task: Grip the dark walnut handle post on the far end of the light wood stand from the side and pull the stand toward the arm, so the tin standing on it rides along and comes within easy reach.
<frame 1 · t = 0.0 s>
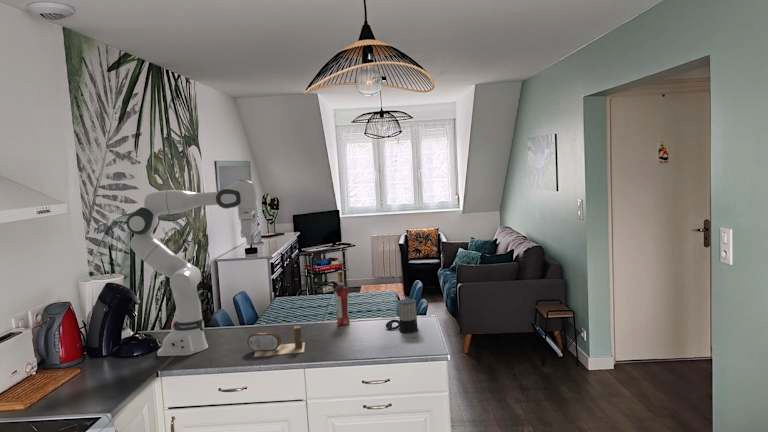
hand: (250, 243, 270), 48 cm above the countertop, tool pointing down, fingers open, 8 cm apart
tin: (264, 350, 261), resting on light wood stand
light wood stand: (279, 339, 261), point 5 cm above the countertop, slide at 0.1 cm, touching tin
liquor: (343, 324, 298), on the countertop
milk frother: (401, 330, 282), on the countertop
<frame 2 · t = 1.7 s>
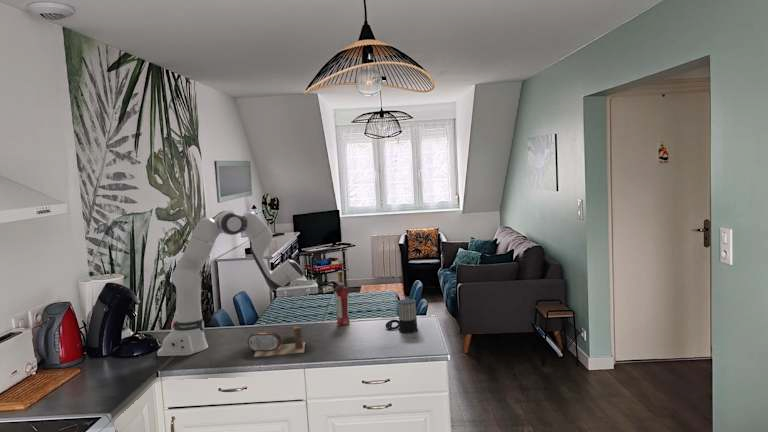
hand: (296, 293, 272), 23 cm above the countertop, tool horizontal, fingers open, 8 cm apart
nothing on the countertop moved.
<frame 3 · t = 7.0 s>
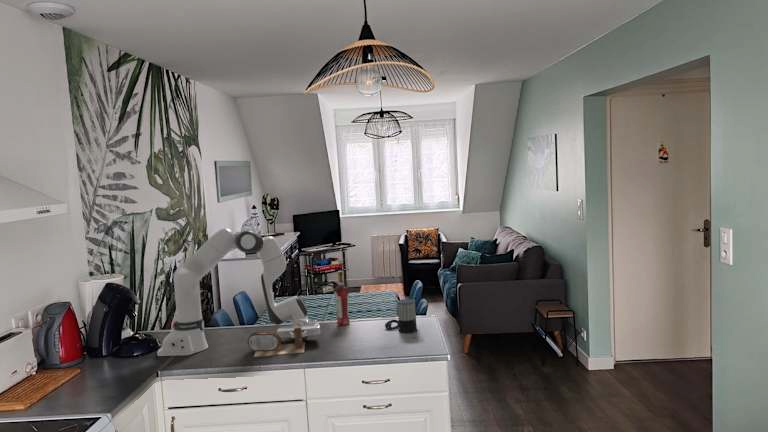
hand: (298, 336, 261), 6 cm above the countertop, tool horizontal, fingers closed on light wood stand, 3 cm apart
light wood stand: (279, 339, 261), point 5 cm above the countertop, slide at 0.0 cm, touching gripper, tin
everything else where it was.
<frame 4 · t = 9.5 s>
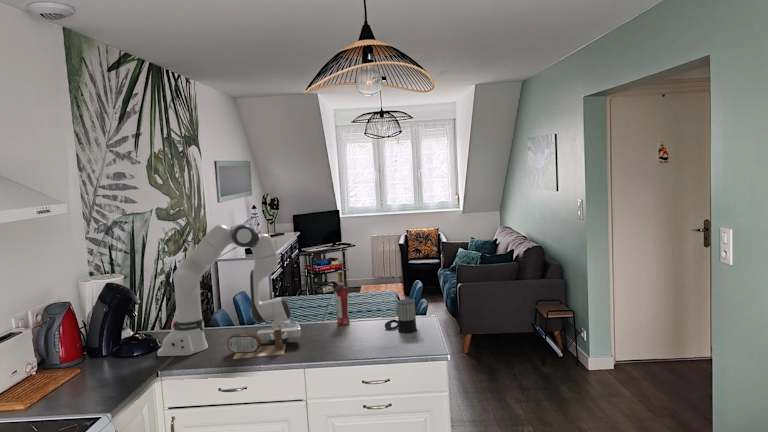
hand: (278, 337, 260), 6 cm above the countertop, tool horizontal, fingers closed on light wood stand, 3 cm apart
tin: (244, 352, 260), resting on light wood stand
light wood stand: (259, 341, 260), point 5 cm above the countertop, slide at 9.0 cm, touching gripper, tin
everything else where it was.
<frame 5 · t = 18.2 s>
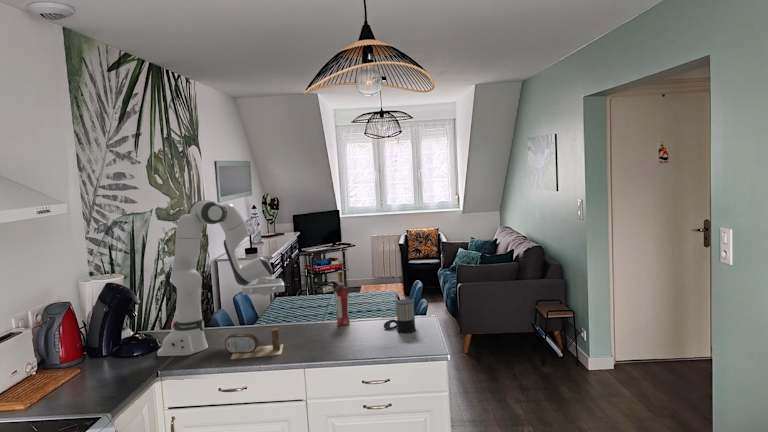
hand: (262, 291, 271), 25 cm above the countertop, tool horizontal, fingers open, 8 cm apart
tin: (242, 353, 260), resting on light wood stand
light wood stand: (256, 341, 260), point 5 cm above the countertop, slide at 10.1 cm, touching tin
at the end: light wood stand slide at 10.1 cm; tin inside the target area (4.4 cm from its centre), resting on light wood stand; tin tilted 0° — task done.
